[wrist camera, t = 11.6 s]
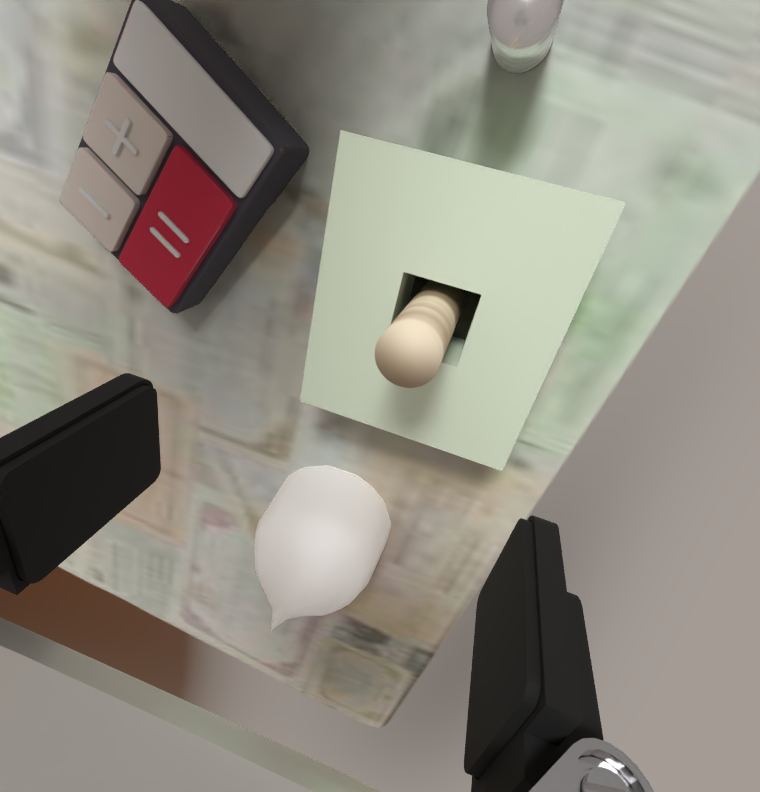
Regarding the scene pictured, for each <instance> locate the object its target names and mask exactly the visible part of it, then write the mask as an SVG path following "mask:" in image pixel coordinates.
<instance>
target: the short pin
mask: <svg viewBox="0 0 760 792" xmlns="http://www.w3.org/2000/svg"><path fill="white" fill-rule="evenodd" d="M563 1H564V0H488V5H487V17H488V24H489V30H490V36H491V43H492V49H493V54H494V57H495V59H496V61H497V63H498V64H499V65H500V66H501V67H502V68H503V69H504V70H506V71H508V72H511V73H524V72H527V71H529V70H531V69H533V68H534V67H536V66H537V65H538V64H539V63H540V62H541V61H542V60H543V59H544V58H545V56H546V55H547V53H548V51H549V49H550V47H551V44H552V41H553V38H554V34H555V30H556V27H557V23H558V20H559V16H560V13H561V9H562V5H563Z"/></svg>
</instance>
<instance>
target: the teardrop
mask: <svg viewBox="0 0 760 792" xmlns="http://www.w3.org/2000/svg"><path fill="white" fill-rule="evenodd" d="M390 528H391V521H390V518H389V515H388V512H387V509H386V506H385V502H384V501H383V499H382V498H381V497H380V496H379V494H378V493H377V492H376V491H375V489H374V488H373V487H372V486H371V485H369V484H368V483H367V482H365V481H364V480H363V479H361V478H360V477H358V476H357V475H356V474H353V473H350V472H347V471H344V470H341V469H338V468H335V467H332V466H329V465H323V466H311V467H302V468H300V469H298V470H297V471H295V472H293V473H291V474H290V475H289V476H288V477H287V479H286V480H285V481H284V483H283V484H282V486H281V487H280V489H279V490H278V492H277V493H276V495H275V496H274V498H273V500H272V501H271V503H270V504H269V506H268V507H267V509H266V511H265V512H264V514H263V515H262V517H261V518H260V520H259V521H258V525H257V529H256V533H255V548H254V557H255V573H256V575H257V577H258V579H259V581H260V584H261V586H262V588H263V590H264V592H265V594H266V596H267V598H268V601H269V603H270V605H271V608H272V610H273V613H272V625H271V630H272V629H274V628H275V627H277V626H278V625H280V624H281V623H283V622H284V621H286V620H287V619H291V618H297V617H302V616H324V615H327V614H329V613H332V612H335V611H338V610H340V609H341V608H343V607H345V606H347V605H349V604H350V603H351V602H352V601H353V600H354V599H355V598H356V597H357V596H358V594H359V593H360V592H361V591H362V590H363V589H364V588H365V587H366V586H367V585H368V583H369V581H370V579H371V577H372V574H373V572H374V570H375V568H376V565H377V563H378V561H379V559H380V556H381V554H382V552H383V550H384V547H385V545H386V542H387V539H388V535H389V531H390Z"/></svg>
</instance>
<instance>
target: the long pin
mask: <svg viewBox="0 0 760 792" xmlns="http://www.w3.org/2000/svg"><path fill="white" fill-rule="evenodd" d="M464 304H465V294H464V291H463V289H460V288H457V287H453V286H450V285H447V284H443V283H440V282H436V281H433V280H429V281H428V282H427V283H426V284H425V285H424V286H423V287H422V289H421V290H420V291H419V292H418V293H417V294H416V296H415V297H414V298H413V299H412V300H411V301H410V303H409V304H408V305H407V306H406V307H405V308H404V310H403V311H402V312H401V313H400V314H399V315H398V317H397V318H396V319H395V320H394V321H393V322H392V324H391V325H390V326H389V327H388V328H387V329H386V330H385V332H384V333H383V334H382V335H381V336H380V338H379V339H378V341H377V344H376V347H375V361H376V365H377V367H378V369H379V371H380V372H381V374H382V375H383V376H384V377H385V378H386V379H387V380H388V381H390V382H391V383H393V384H395V385H397V386H400V387H404V388H416V387H420V386H423V385H425V384H427V383H428V382H429V381H431V380H432V379H433V378H434V376H435V375H436V373H437V372H438V369H439V367H440V364H441V362H442V359H443V357H444V354H445V352H446V349H447V347H448V344H449V342H450V339H451V337H452V334H453V332H454V329H455V327H456V324H457V322H458V319H459V317H460V314H461V312H462V309H463V307H464Z"/></svg>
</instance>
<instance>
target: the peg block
mask: <svg viewBox="0 0 760 792" xmlns="http://www.w3.org/2000/svg"><path fill="white" fill-rule="evenodd" d="M625 204H626V202H623V201H619V200H615V199H611V198H607V197H603V196H599V195H595V194H591V193H587V192H583V191H579V190H575V189H571V188H568V187H564V186H560V185H556V184H552V183H548V182H544V181H540V180H536V179H532V178H528V177H524V176H520V175H516V174H512V173H508V172H505V171H501V170H497V169H493V168H489V167H485V166H481V165H477V164H473V163H469V162H465V161H461V160H457V159H453V158H449V157H445V156H442V155H438V154H434V153H430V152H426V151H422V150H418V149H414V148H410V147H406V146H402V145H398V144H394V143H390V142H386V141H382V140H379V139H375V138H371V137H367V136H363V135H359V134H355V133H351V132H347V131H343V130H340V136H339V143H338V149H337V156H336V163H335V169H334V176H333V183H332V189H331V196H330V202H329V209H328V216H327V222H326V229H325V236H324V242H323V249H322V256H321V262H320V269H319V275H318V282H317V289H316V295H315V302H314V309H313V315H312V322H311V328H310V335H309V342H308V348H307V355H306V362H305V368H304V375H303V381H302V388H301V395H300V401H301V402H304V403H307V404H310V405H313V406H316V407H319V408H321V409H324V410H327V411H330V412H333V413H336V414H339V415H342V416H345V417H347V418H350V419H353V420H356V421H359V422H362V423H365V424H368V425H370V426H373V427H376V428H379V429H382V430H385V431H388V432H391V433H394V434H396V435H399V436H402V437H405V438H408V439H411V440H414V441H417V442H419V443H422V444H425V445H428V446H431V447H434V448H437V449H440V450H442V451H445V452H448V453H451V454H454V455H457V456H460V457H463V458H466V459H468V460H471V461H474V462H477V463H480V464H483V465H486V466H489V467H491V468H494V469H497V470H500V471H502V470H503V468H504V466H505V464H506V462H507V459H508V457H509V455H510V453H511V451H512V449H513V446H514V444H515V442H516V440H517V438H518V436H519V433H520V431H521V429H522V427H523V425H524V423H525V420H526V418H527V416H528V414H529V412H530V410H531V408H532V405H533V403H534V401H535V399H536V397H537V395H538V392H539V390H540V388H541V386H542V384H543V382H544V379H545V377H546V375H547V373H548V371H549V369H550V366H551V364H552V362H553V360H554V358H555V356H556V353H557V351H558V349H559V347H560V345H561V343H562V341H563V338H564V336H565V334H566V332H567V330H568V328H569V325H570V323H571V321H572V319H573V317H574V315H575V312H576V310H577V308H578V306H579V304H580V302H581V299H582V297H583V295H584V293H585V291H586V289H587V286H588V284H589V282H590V280H591V278H592V276H593V274H594V271H595V269H596V267H597V265H598V263H599V261H600V258H601V256H602V254H603V252H604V250H605V248H606V245H607V243H608V241H609V239H610V237H611V235H612V232H613V230H614V228H615V226H616V224H617V222H618V219H619V217H620V215H621V213H622V211H623V209H624V207H625ZM416 276H419V277H423V278H426V279H430V280H433V281H436V282H440V283H443V284H447V285H450V286H453V287H457V288H460V289H464V290H467V291H470V292H474V293H477V294H481V295H480V298H479V301H478V304H477V307H476V310H475V312H474V315H473V318H472V321H471V324H470V327H469V330H468V333H467V336H466V339H465V340H463V339H460V338H457V337H453V336H452V337H451V339H450V342H449V344H448V347H447V349H446V352H445V354H444V357H443V359H442V362H441V364H440V367H439V369H438V372H437V373H436V375H435V376H434V378H433V379H432V380H431V381H429V382H428V383H427V384H425V385H423V386H420V387H416V388H404V387H400V386H397V385H395V384H393V383H391V382H390V381H388V380H387V379H386V378H385V377H384V376H383V375H382V374H381V372H380V371H379V369H378V367H377V365H376V361H375V347H376V344H377V341H378V339H379V338H380V336H381V335H382V334H383V333H384V332H385V330H386V329H387V328H388V327H389V326H390V325H391V324H392V322H393V321H394V320H395V319H396V318H397V317H398V315H399V314H400V313H401V312H402V311H403V310H404V308H405V307H406V306H407V305H408V304H409V300H410V296H411V292H412V288H413V285H414V281H415V277H416Z"/></svg>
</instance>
